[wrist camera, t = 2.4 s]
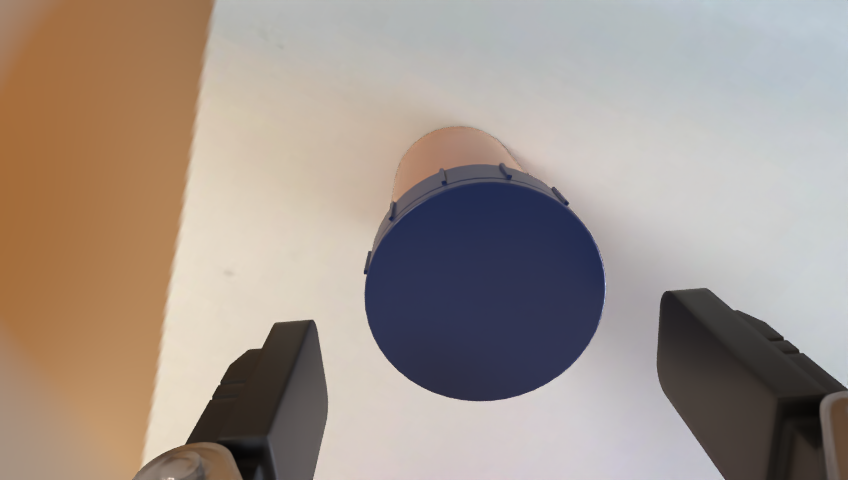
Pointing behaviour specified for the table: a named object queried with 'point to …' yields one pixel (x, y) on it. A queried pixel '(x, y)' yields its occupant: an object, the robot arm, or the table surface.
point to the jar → (448, 155)
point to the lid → (483, 283)
